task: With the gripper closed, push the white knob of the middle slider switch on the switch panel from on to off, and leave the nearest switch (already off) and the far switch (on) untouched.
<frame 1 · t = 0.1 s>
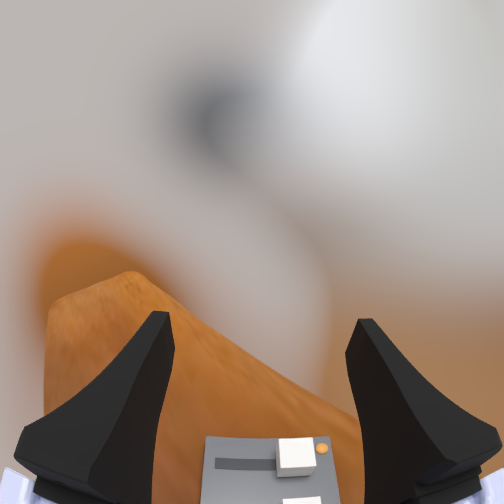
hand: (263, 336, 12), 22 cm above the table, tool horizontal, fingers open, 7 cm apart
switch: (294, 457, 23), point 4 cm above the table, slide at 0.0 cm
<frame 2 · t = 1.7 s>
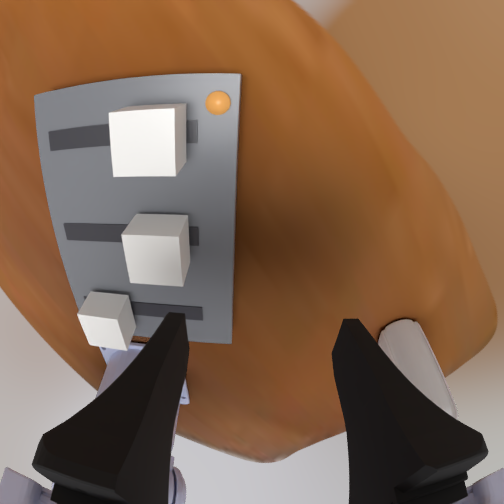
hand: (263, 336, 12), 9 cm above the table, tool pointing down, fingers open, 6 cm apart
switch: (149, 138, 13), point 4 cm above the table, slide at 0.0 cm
switch panel: (143, 218, 19), on the table
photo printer: (393, 352, 27), on the table
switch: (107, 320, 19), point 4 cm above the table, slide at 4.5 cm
switch middle: (158, 249, 16), point 4 cm above the table, slide at 0.0 cm
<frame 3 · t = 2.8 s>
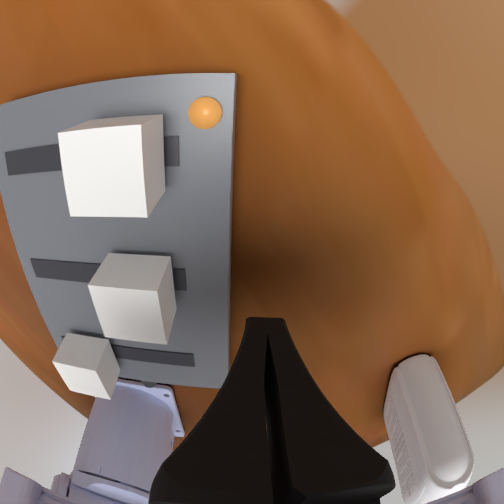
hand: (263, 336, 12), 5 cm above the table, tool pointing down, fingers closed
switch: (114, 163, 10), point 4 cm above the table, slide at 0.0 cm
switch panel: (121, 252, 16), on the table
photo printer: (405, 385, 24), on the table
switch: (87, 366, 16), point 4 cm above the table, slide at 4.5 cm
switch middle: (135, 298, 13), point 4 cm above the table, slide at 0.0 cm
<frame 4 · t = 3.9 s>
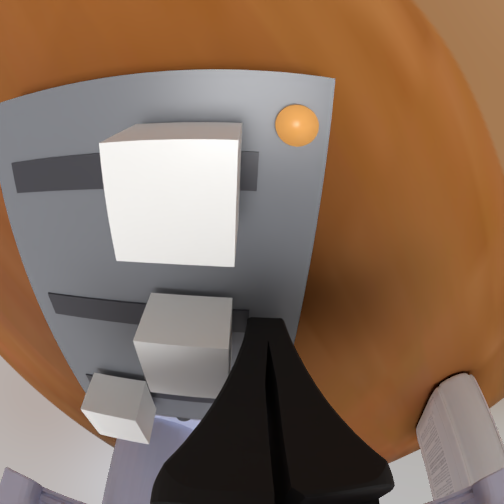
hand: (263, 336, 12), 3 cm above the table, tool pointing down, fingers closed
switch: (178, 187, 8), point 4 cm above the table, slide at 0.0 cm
switch panel: (161, 284, 14), on the table
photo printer: (440, 402, 21), on the table
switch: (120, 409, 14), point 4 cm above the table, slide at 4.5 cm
switch middle: (189, 347, 11), point 4 cm above the table, slide at 0.1 cm, touching gripper
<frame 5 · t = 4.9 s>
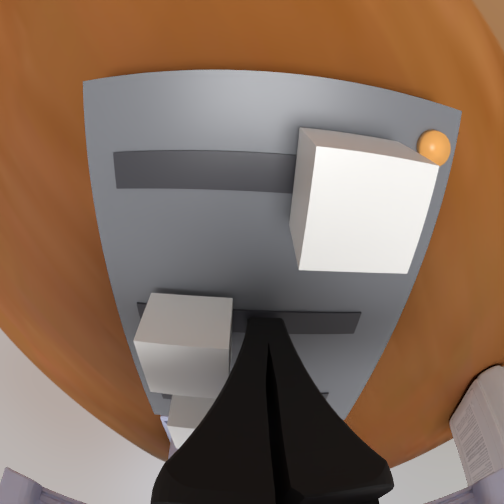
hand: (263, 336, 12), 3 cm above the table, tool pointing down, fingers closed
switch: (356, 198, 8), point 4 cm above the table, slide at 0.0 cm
switch panel: (260, 289, 14), on the table
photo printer: (473, 393, 22), on the table
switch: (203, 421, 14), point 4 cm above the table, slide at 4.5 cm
switch middle: (189, 347, 11), point 4 cm above the table, slide at 4.7 cm, touching gripper
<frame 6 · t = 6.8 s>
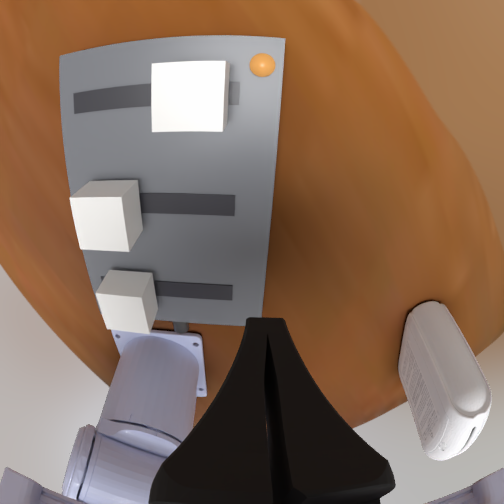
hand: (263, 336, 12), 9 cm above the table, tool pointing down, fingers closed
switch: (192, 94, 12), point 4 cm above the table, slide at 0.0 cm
switch panel: (171, 190, 18), on the table
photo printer: (417, 337, 26), on the table
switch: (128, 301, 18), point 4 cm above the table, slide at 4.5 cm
switch middle: (107, 214, 15), point 4 cm above the table, slide at 4.7 cm
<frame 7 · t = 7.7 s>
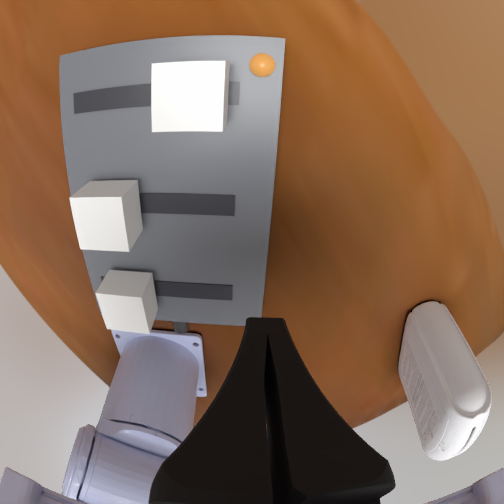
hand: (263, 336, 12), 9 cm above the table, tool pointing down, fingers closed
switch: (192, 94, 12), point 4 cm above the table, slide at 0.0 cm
switch panel: (171, 190, 18), on the table
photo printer: (417, 337, 26), on the table
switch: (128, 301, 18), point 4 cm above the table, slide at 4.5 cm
switch middle: (107, 214, 15), point 4 cm above the table, slide at 4.7 cm
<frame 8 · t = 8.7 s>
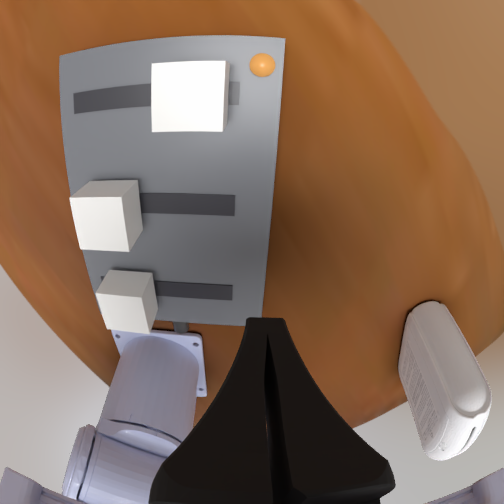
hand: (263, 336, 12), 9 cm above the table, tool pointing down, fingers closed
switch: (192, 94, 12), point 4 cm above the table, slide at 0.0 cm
switch panel: (171, 190, 18), on the table
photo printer: (417, 337, 26), on the table
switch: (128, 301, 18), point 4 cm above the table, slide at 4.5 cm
switch middle: (107, 214, 15), point 4 cm above the table, slide at 4.7 cm
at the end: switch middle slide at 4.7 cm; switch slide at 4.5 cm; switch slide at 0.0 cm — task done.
